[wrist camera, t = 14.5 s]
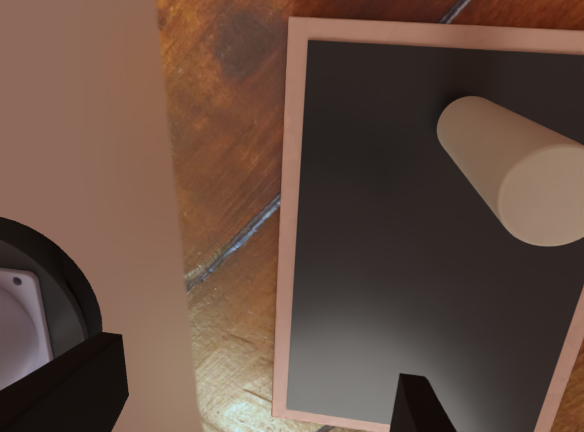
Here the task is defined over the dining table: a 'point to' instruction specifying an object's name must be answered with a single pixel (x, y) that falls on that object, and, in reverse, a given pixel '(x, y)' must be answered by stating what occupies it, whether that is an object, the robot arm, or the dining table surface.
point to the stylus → (518, 169)
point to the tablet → (417, 229)
